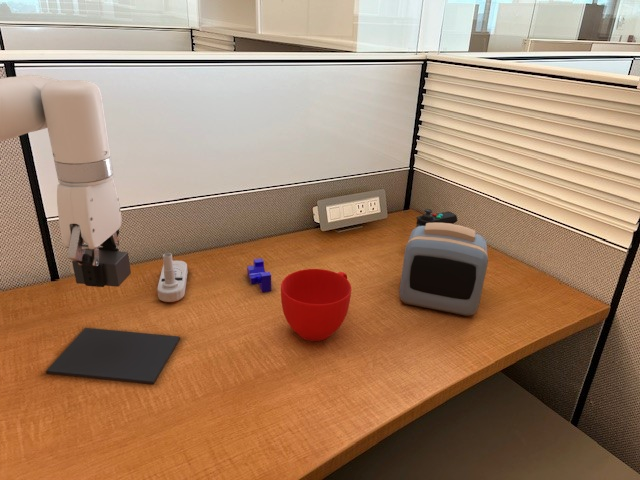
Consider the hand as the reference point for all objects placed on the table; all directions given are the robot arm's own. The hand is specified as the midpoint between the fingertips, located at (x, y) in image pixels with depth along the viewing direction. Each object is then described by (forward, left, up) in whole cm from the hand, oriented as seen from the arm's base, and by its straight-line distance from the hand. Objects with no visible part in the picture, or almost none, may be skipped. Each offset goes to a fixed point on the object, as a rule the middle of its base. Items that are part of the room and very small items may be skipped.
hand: (103, 276), depth 78 cm
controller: (+62, +56, -15) cm, 84 cm away
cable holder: (+20, +27, -15) cm, 36 cm away
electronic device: (+2, +23, -15) cm, 27 cm away
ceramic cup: (+35, +13, -15) cm, 40 cm away
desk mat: (+1, -1, -15) cm, 15 cm away
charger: (0, 0, 0) cm, 0 cm away
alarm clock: (+60, +29, -15) cm, 68 cm away
